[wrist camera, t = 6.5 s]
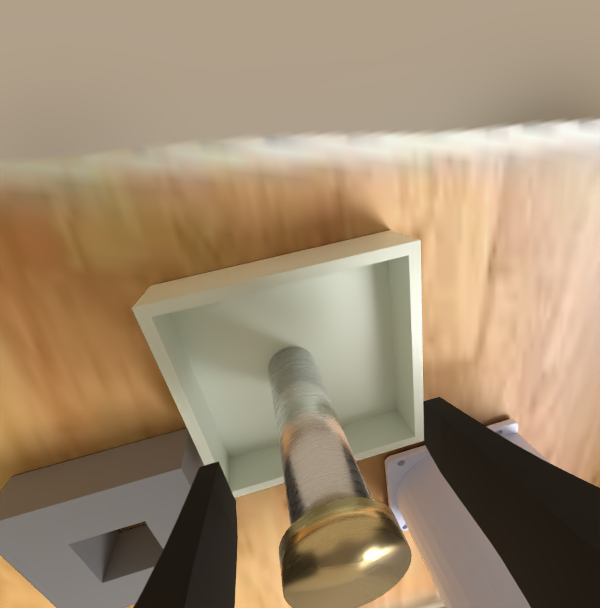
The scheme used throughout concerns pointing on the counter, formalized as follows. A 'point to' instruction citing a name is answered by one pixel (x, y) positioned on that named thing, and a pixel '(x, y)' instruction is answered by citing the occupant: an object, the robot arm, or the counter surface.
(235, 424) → the tray
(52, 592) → the pin block
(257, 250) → the counter surface
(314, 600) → the steel pin
